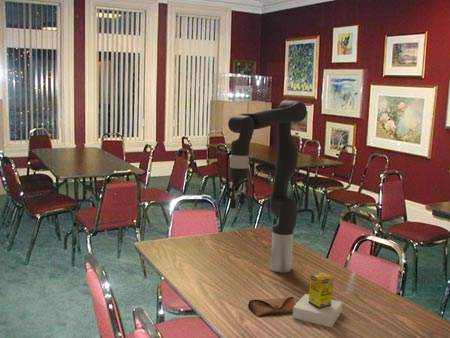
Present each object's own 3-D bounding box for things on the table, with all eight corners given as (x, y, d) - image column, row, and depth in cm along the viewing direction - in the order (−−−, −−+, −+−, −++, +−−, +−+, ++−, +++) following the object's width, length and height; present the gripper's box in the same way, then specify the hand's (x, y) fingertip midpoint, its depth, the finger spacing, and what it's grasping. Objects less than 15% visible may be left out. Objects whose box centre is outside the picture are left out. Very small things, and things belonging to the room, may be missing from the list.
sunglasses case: (255, 317, 179) (253, 298, 182) (249, 319, 186) (247, 300, 188) (302, 313, 185) (299, 294, 187) (294, 315, 191) (292, 297, 193)
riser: (304, 303, 193) (305, 293, 193) (341, 312, 187) (342, 301, 186) (292, 317, 181) (293, 307, 180) (331, 327, 175) (332, 316, 174)
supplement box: (319, 309, 179) (321, 279, 177) (308, 303, 184) (310, 274, 182) (331, 306, 183) (334, 277, 181) (319, 299, 187) (322, 271, 186)
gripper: (240, 169, 193) (238, 211, 195) (255, 165, 205) (253, 204, 208) (222, 167, 196) (220, 208, 199) (238, 163, 209) (236, 201, 211)
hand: (237, 206), depth 203 cm, fingers open, 8 cm apart
